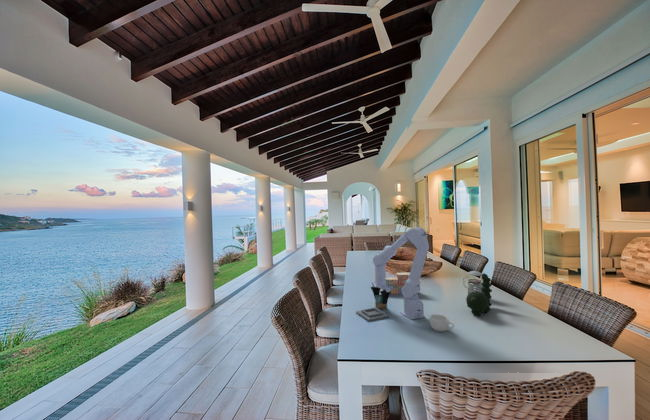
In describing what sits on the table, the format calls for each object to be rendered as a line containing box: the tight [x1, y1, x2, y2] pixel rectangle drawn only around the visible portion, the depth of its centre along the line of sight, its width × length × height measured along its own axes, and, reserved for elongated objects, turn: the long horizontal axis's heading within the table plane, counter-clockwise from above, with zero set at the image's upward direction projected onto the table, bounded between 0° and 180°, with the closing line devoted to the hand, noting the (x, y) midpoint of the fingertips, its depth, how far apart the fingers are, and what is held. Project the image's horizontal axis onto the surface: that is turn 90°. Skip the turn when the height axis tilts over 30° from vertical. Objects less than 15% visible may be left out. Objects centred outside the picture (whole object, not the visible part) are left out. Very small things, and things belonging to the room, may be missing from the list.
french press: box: [462, 254, 483, 297], centre depth 165 cm, size 10×12×25 cm
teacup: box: [429, 313, 455, 333], centre depth 122 cm, size 10×8×5 cm
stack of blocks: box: [386, 272, 410, 295], centre depth 177 cm, size 21×6×12 cm, turn 85°
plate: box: [355, 307, 390, 322], centre depth 141 cm, size 12×12×2 cm
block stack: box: [374, 294, 388, 311], centre depth 151 cm, size 4×4×6 cm
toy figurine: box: [465, 273, 493, 317], centre depth 142 cm, size 10×19×26 cm
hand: (380, 301), depth 151 cm, fingers open, 7 cm apart
